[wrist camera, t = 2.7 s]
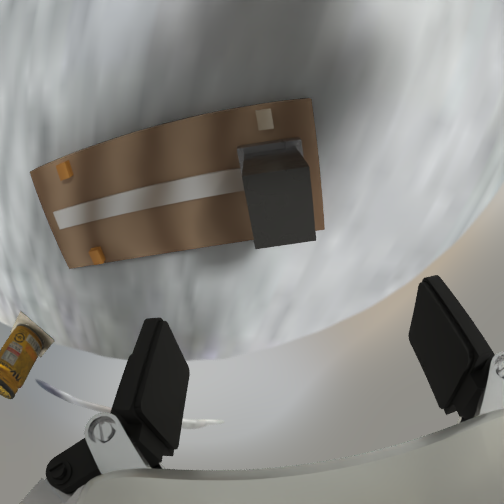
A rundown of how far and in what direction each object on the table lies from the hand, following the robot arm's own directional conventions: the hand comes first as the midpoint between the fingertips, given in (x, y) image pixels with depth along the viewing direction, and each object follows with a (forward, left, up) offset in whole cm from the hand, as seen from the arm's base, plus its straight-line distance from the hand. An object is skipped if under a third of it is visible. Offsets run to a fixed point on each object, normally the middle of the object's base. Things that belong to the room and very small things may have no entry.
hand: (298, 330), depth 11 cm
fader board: (+10, 0, -19) cm, 21 cm away
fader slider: (0, 0, -17) cm, 17 cm away
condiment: (+42, +18, -19) cm, 49 cm away
